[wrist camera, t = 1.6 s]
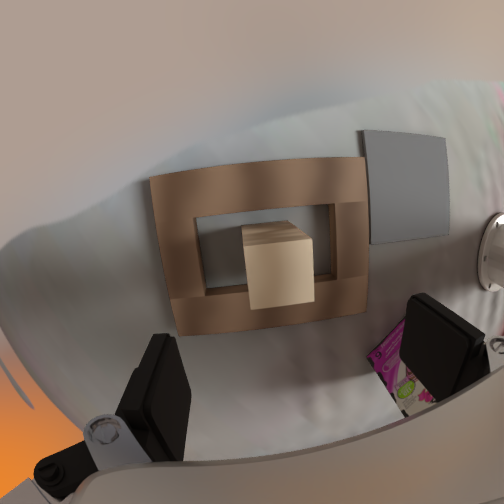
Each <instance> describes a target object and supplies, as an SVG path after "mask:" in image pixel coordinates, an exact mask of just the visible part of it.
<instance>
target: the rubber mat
mask: <svg viewBox="0 0 504 504" xmlns="http://www.w3.org/2000/svg"><path fill="white" fill-rule="evenodd" d="M361 132H362V140H363V148H364V157H365V167H366V179H367V194H368V217H369V244H371V245H373V244H381V243H390V242H398V241H405V240H413V239H421V238H429V237H437V236H445V235H449V221H450V195H449V172H448V159H447V149H446V141H445V138H442V137H435V136H428V135H420V134H412V133H402V132H391V131H377V130H362V131H361Z"/></svg>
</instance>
